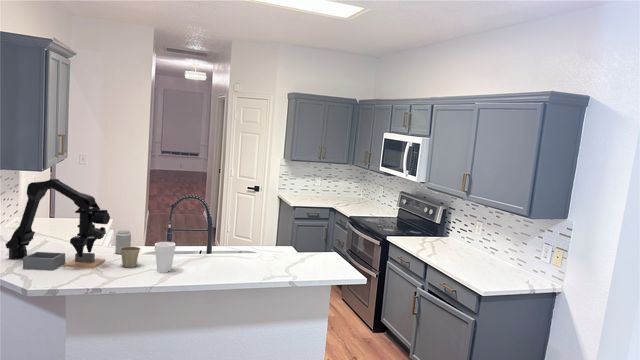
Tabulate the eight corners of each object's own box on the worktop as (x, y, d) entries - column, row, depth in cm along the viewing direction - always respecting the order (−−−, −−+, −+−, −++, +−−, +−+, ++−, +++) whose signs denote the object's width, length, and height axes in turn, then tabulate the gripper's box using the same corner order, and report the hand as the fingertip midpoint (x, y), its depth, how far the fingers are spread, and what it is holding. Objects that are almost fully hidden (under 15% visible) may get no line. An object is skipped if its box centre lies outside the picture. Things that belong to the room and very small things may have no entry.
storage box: (22, 270, 203) (23, 257, 202) (36, 264, 213) (36, 251, 213) (52, 272, 203) (53, 259, 203) (64, 265, 214) (65, 253, 214)
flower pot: (143, 266, 221) (144, 249, 220) (124, 269, 214) (124, 251, 213) (134, 262, 227) (135, 245, 227) (115, 265, 220) (116, 247, 220)
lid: (63, 268, 210) (63, 255, 210) (75, 262, 222) (76, 249, 221) (94, 270, 211) (94, 257, 210) (104, 263, 223) (105, 251, 222)
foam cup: (178, 269, 220) (179, 243, 219) (166, 274, 211) (167, 247, 210) (162, 266, 223) (163, 241, 222) (149, 271, 214) (150, 244, 213)
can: (124, 255, 239) (125, 233, 239) (112, 253, 241) (112, 231, 240) (133, 252, 247) (134, 230, 246) (121, 250, 248) (121, 229, 247)
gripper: (94, 227, 206) (94, 260, 207) (111, 220, 225) (110, 251, 226) (69, 225, 205) (69, 259, 206) (88, 219, 224) (87, 249, 225)
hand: (85, 254), depth 216 cm, fingers open, 9 cm apart
